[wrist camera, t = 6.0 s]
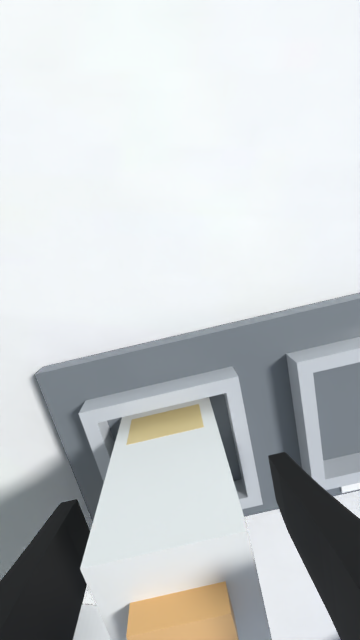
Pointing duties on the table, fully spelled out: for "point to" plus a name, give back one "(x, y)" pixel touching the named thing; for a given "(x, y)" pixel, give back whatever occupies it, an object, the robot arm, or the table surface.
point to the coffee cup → (90, 625)
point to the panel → (227, 397)
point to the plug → (173, 535)
